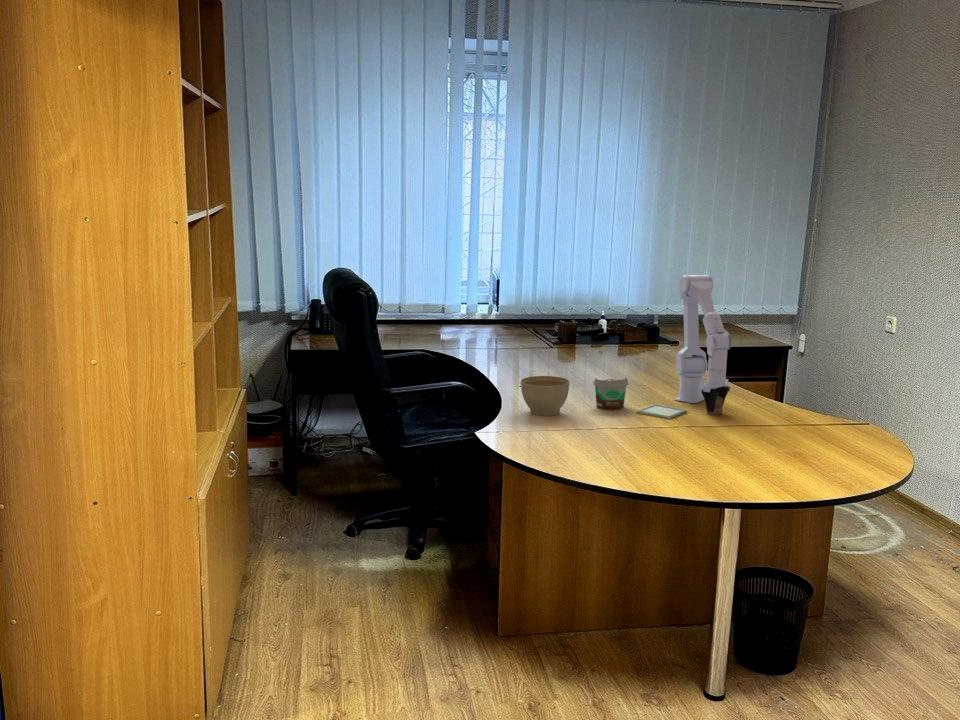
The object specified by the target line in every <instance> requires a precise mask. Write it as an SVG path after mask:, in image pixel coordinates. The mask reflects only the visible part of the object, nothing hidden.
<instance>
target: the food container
mask: <svg viewBox="0 0 960 720" xmlns="http://www.w3.org/2000/svg"><path fill="white" fill-rule="evenodd" d="M592 384H593V385H594V386H595V387H594V388H595V402H596V403H595V405H596V408H598V409H601V410H607V411H616V410H617V411H618V410H623V409H624V407H625V397H626V390H627V387H628V385H629V380H628V377H627V376H625V377H624V379H612V378H611V379H610V378H609V379H603V380H602V379H599V378H594V380H593V383H592Z"/></svg>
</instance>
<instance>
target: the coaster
mask: <svg viewBox="0 0 960 720" xmlns="http://www.w3.org/2000/svg"><path fill="white" fill-rule="evenodd" d="M687 411H688V410H687V409H686V408H681V407H675V406H670V405H663V404H658V403H653V404H650V405H646V406H644V407H641V408H639V409H636V414H639V415H640V414H641V415H646V416H650V417H656V418H662V419H668V420H671V419H673V418H675V417H678V416H681V415H683V414H685V413H687Z"/></svg>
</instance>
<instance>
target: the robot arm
mask: <svg viewBox="0 0 960 720" xmlns="http://www.w3.org/2000/svg"><path fill="white" fill-rule="evenodd" d="M713 288H714V279H713V277H712V276H711V274H683V275H682V276H681V278H680V281H679V298H680V299H681V300H683V348H681V350H679V351H678V352H677V353H676V355H675V365H674V366H675V370H676V373H677V374H678V375H679V389H678V390H679V393H678V396H677V397H675V398H674V399H673V400H674V401H677V402H678V401H679V402H684V403H689V404H697V403H700V402H702V401H704V403H705V407H706V412H707V411H709V412H714V409H715V404H716V400H717V397H718V396H719V397H722V398H723V405H722V408H723V407H724V403H725V400H726V397H727V395H728V393H729V392H730V391H731V386H729V379H728V378H726V377H727V375H726V374H727V363H728V361H727V360H728V351H729V350H730V349H731V348H732V347H731V346H732V336H731V334H730V333H729V332H728V331H727V330H726V329H725V328H724V324H723V322H722V317H721V316H720V314H719V313H717V312H715V306H714V301H713V296H712V291H713ZM699 306H700V308H701V311H702V313H703V315H704V317H703V319H702V323H703V326H704V331H705V332H706V340H705V341H706V343H705V344H706V349H707V354H706V351H704V350H702V349H701V348H700V337H699V336H700V334H699V333H700V330H699V329H700V324H699ZM707 355H708V360H707ZM706 372H707V379H706V380H707V381H706V380H705V378H704V374H705V373H706Z"/></svg>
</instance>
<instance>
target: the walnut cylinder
mask: <svg viewBox="0 0 960 720" xmlns="http://www.w3.org/2000/svg"><path fill="white" fill-rule="evenodd" d="M722 405H723V406H724V404H723V398H722V397H719V396H718V397H717V400H716V404H715V409H714V412H709V411H707V410H706V414H707V415H709V416H713V417H714V416H715V417H716V416H717V417H719V416H722V415H723V407H722Z"/></svg>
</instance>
